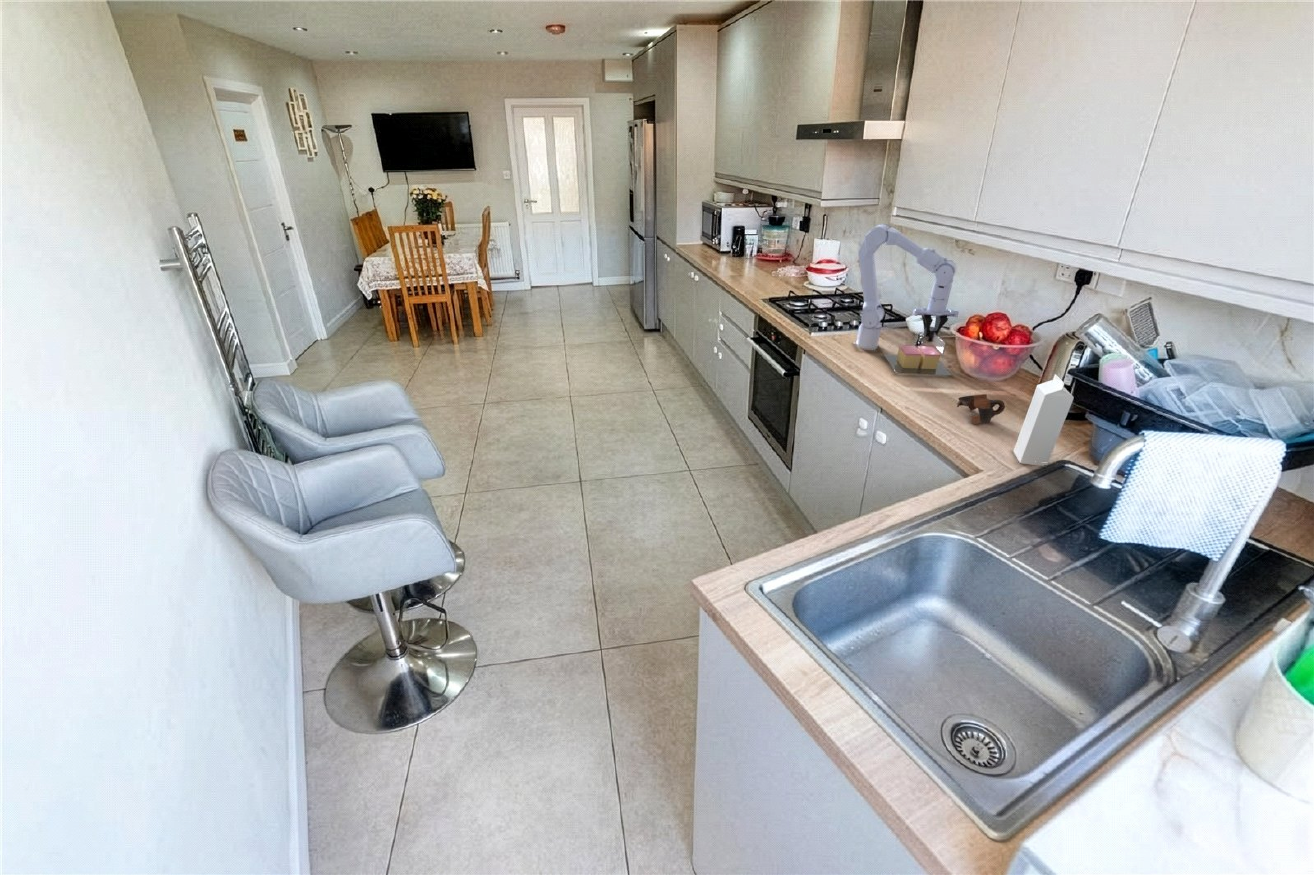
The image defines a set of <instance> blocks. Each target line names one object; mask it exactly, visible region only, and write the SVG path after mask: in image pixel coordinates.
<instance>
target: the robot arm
mask: <svg viewBox="0 0 1314 875" xmlns="http://www.w3.org/2000/svg"><path fill="white" fill-rule="evenodd" d="M883 244H885V246H897V247H898V248H900V249H902V250H904V251H905V252H906V253H909V254H910V255H912V256H914V257H915V259H916V263H917V264H919V265H920V266H921V267H923V268H924V269H926V270H927V271H929V272H930V273H932V274H934V276H935V280H934V282H933V285H932V289H931V291H930V292H931V294H930V297H929V300H928V305H927V307H926V308H914V309H913V311H912V315H913V317H918V316H921V320H922V324H923V337H924V336H926V337H927V336H928V334H929V329H930V327H932V323H933V321H934V320H935V321H934V326H933V327H934V328H935V329H936V330H937V331H938V332H937V335H938V334H939V332H940V331H941V329H942V328H943V326H944V325H945V324H946V323H947V322H948V321H949V317H953V318H958V317H959V313H960V312H959V310H957V309H947V306H948V302H949V298H950V294H951V291H952V287H953V285H952V284H953V281H954V277H955V275H956V272H957V269H958V268H957V265H956V263H955V262H954V261H953V260H952V259H949V258H948V257H947V256H945V257H944V256H942V255H941V254H939V253H937V252H936V251H937V249H936V248H935V247H932V248H930V247H924V248H923V247H921V246H920V245H919V244H917V243H916V242H915V241H913V240H912V239H910V238H909V237H908V236H906V235H905V234H903V232H901V231H899V230H898V229H897V228H895V227H893V226H892V227H891V225H889V224H888V223H879V224H878V225H876V226H875V227H872V228H871V229H869V231H868V232H867V233H866V234H865V235H864V239H863V241H862V243H861V245H860V248H859V249H858V253H857V254H858V262H859V271H860V279H861V280H860V281H861V288H862V297H863V305H862V315H861V319H860V321H861V323H860V325H859V327H858V330H857V336H856V341H854V342H853V344H854V345H856V346H857V348H859V349H861V350H865V351H875V350H877V349H878V347H879V346H878V345H879V341H880V337H881V332H882V323H881V321H882V320H883V319H884V317H885V315H886V314H885V309H884V307H883V306H882V302H881V300H880V298H879V288H878V280H877V272H876V271H877V270H876V262H875V253H876V252H877V251H878V250H879V249H880V247H881V246H882V245H883ZM933 317H935V319H933Z"/></svg>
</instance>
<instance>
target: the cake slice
mask: <svg viewBox="0 0 1314 875" xmlns="http://www.w3.org/2000/svg"><path fill="white" fill-rule="evenodd" d="M916 349H917V350H918V351H919V352H920V353H921V357H920V362H919V366H920V367H921V369H937V365H938V362H940V358H941V353H939V351H938V350H937V349H936V348H935V347H934V346H926V345H925V346H923V345H918V346H917V347H916Z"/></svg>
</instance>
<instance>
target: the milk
mask: <svg viewBox="0 0 1314 875" xmlns="http://www.w3.org/2000/svg"><path fill="white" fill-rule="evenodd" d="M1074 398H1075V397H1074V395H1072V394H1071V393H1070V391H1069V390H1067V388H1066V387H1065V382H1064V381H1063V380H1062V379H1061V378H1060V377H1059V376H1058V374H1054V376H1053V377H1052V379H1051V380H1048V381H1045V382H1042V383H1039V384H1037V385H1036V388H1035V390H1034V393H1033V396H1032V398H1031V401H1030V404H1029V406H1028V410H1027V413H1026V414H1025V418H1024V420H1023V424H1022V426H1021V429H1020V431H1019V435H1018V438H1017V440H1016V443H1015V446H1014V449H1013V454H1014V455H1015V458H1016V459H1017V461H1018V462H1019V464H1023V465H1029V466H1040V467H1045V466H1044V465H1047V466H1048V464H1049V461H1050V459H1051V457H1052V454H1053V451H1054V449H1055V446H1056V443H1057V441H1058V439H1059V437H1060V434H1061V432H1062V428H1063V426H1064V423H1065V421H1066V418H1067V416H1068V414H1069V411H1070V408H1071V406H1072V404H1073V401H1074ZM1035 461H1036V462H1035ZM1041 462H1048V463H1041Z"/></svg>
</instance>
